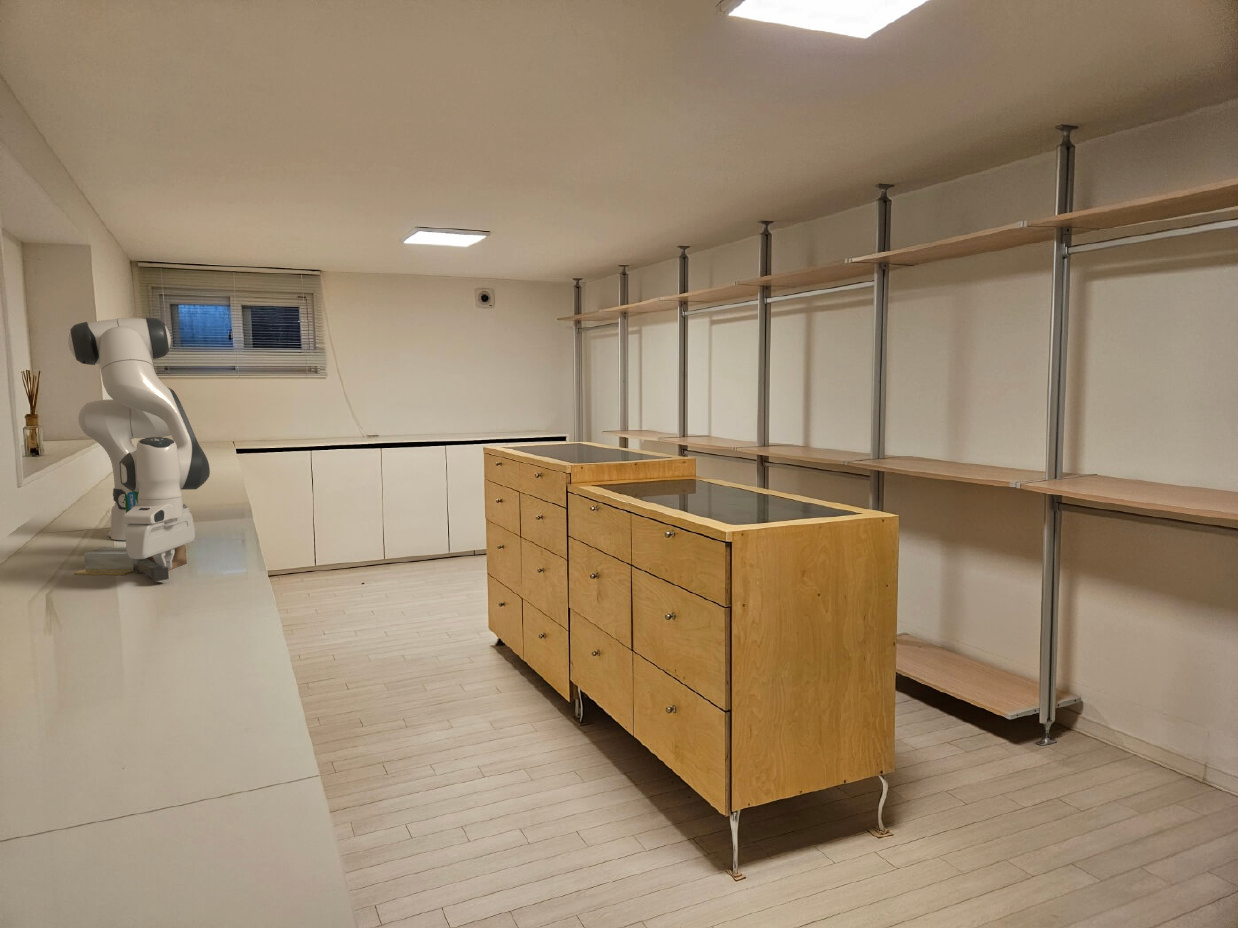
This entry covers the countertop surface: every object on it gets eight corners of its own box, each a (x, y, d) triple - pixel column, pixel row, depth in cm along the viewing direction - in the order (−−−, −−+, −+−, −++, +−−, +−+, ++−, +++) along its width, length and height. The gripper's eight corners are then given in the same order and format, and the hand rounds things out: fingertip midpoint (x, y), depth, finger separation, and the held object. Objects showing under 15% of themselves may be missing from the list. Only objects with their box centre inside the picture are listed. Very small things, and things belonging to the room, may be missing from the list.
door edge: (108, 562, 203) (107, 544, 202) (186, 563, 202) (185, 545, 201) (85, 569, 195) (84, 551, 194) (166, 571, 194) (165, 552, 193)
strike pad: (86, 570, 195) (86, 568, 195) (135, 570, 194) (135, 569, 194) (74, 574, 191) (74, 572, 191) (124, 575, 190) (124, 573, 190)
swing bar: (131, 569, 192) (130, 556, 192) (146, 567, 194) (145, 554, 194) (154, 582, 180) (153, 568, 180) (169, 579, 182) (168, 566, 182)
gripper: (174, 502, 197) (178, 559, 198) (118, 517, 176) (122, 580, 178) (200, 502, 196) (203, 559, 198) (146, 517, 176) (150, 581, 177)
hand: (164, 569), depth 188 cm, fingers closed
